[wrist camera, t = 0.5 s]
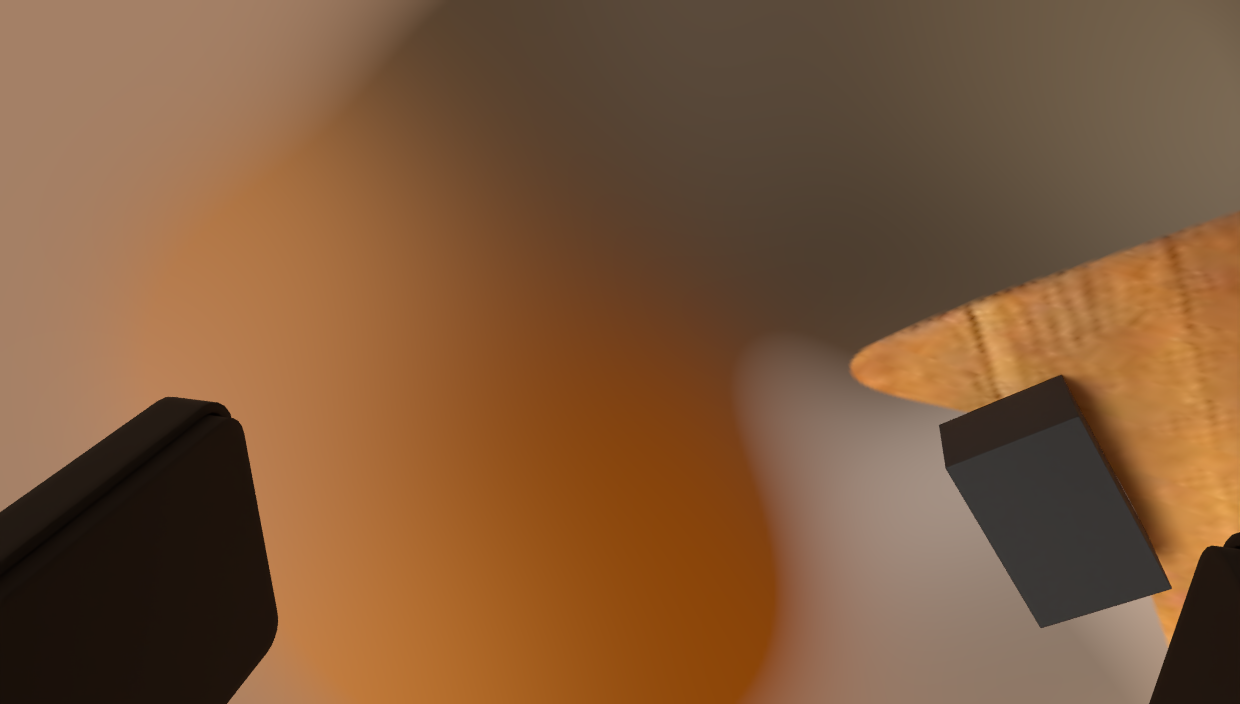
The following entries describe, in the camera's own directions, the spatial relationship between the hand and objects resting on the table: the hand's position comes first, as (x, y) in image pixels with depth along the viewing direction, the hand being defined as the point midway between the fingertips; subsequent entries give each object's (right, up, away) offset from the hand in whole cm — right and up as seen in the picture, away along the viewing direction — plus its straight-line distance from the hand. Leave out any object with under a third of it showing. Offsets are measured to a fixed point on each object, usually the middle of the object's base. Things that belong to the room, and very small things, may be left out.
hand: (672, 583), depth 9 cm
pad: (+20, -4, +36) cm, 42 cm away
